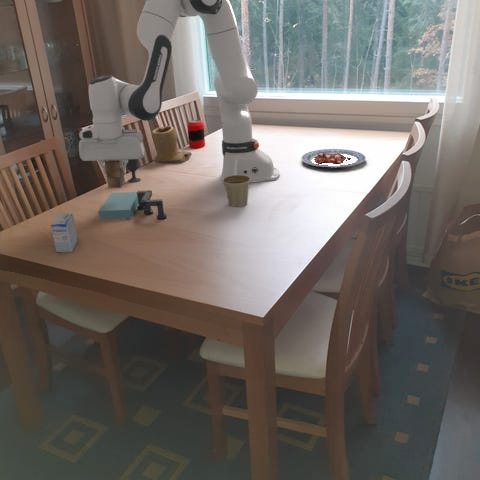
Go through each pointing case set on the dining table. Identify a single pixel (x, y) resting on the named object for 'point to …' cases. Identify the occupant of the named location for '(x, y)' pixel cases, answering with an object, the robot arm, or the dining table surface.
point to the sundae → (133, 169)
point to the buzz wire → (150, 204)
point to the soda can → (196, 134)
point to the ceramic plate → (331, 157)
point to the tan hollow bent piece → (168, 145)
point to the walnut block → (114, 173)
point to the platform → (119, 206)
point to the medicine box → (64, 232)
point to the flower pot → (237, 189)
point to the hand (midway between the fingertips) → (115, 172)
